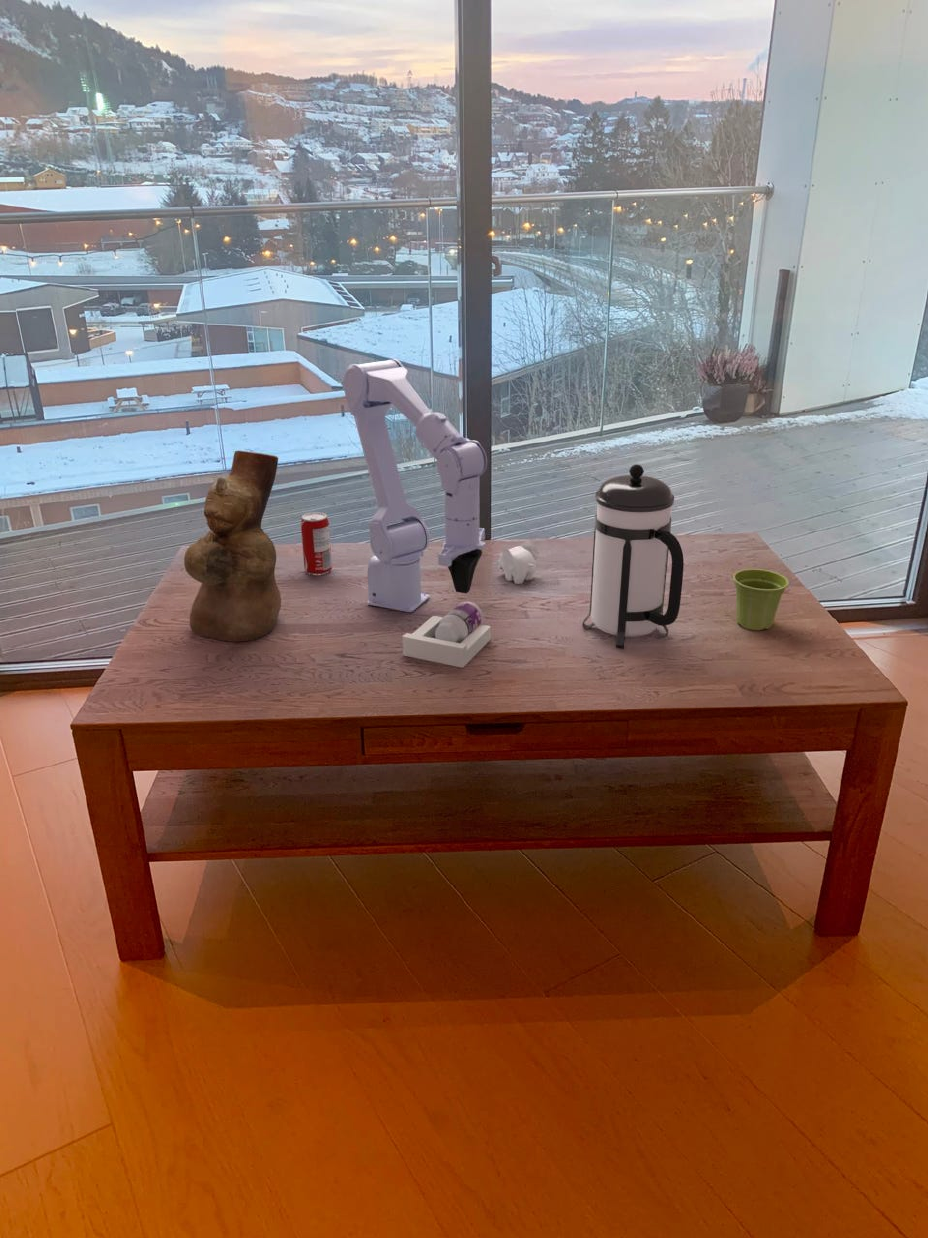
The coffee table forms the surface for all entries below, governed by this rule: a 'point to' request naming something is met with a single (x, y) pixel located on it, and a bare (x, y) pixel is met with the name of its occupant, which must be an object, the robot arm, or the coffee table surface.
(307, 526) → the soda can
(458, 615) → the pill bottle
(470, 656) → the cradle
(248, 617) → the ceramic vessel
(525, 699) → the coffee table surface
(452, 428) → the robot arm
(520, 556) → the elephant figurine
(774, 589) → the plant pot
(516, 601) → the coffee table surface
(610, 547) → the coffee press
